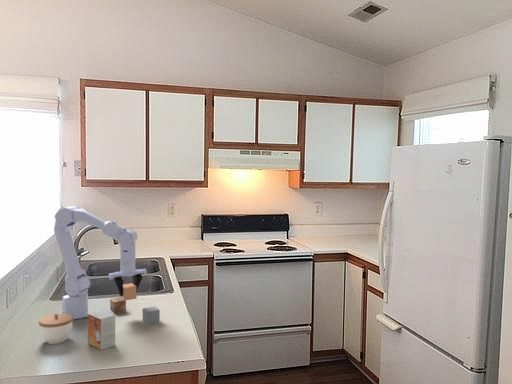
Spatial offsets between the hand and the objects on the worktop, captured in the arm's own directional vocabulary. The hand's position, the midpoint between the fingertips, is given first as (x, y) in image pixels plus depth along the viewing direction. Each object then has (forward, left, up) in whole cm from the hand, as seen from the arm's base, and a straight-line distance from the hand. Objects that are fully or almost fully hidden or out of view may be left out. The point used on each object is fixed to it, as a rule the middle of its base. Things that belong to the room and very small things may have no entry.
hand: (128, 294), depth 173 cm
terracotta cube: (0, 0, -1) cm, 1 cm away
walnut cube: (-1, +10, -10) cm, 14 cm away
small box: (-16, -21, -10) cm, 28 cm away
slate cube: (+6, -9, -10) cm, 14 cm away
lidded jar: (-28, -9, -10) cm, 31 cm away
